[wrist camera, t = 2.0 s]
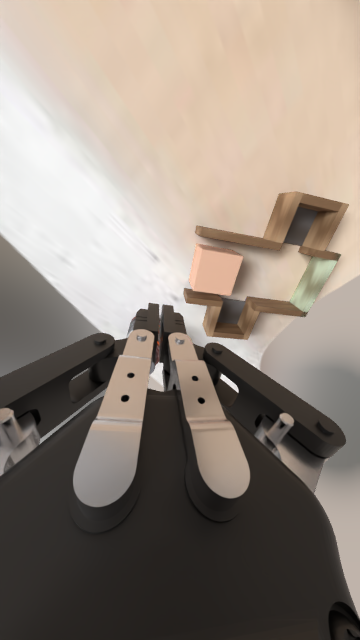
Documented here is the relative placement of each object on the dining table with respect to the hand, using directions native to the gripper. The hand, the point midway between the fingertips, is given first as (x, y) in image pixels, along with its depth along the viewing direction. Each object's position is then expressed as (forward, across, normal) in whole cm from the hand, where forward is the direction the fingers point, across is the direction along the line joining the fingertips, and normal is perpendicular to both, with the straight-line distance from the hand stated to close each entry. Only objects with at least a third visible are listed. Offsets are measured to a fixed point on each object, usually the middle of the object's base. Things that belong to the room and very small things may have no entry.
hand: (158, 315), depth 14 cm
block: (+19, -8, 0) cm, 21 cm away
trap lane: (+19, -16, 0) cm, 25 cm away
